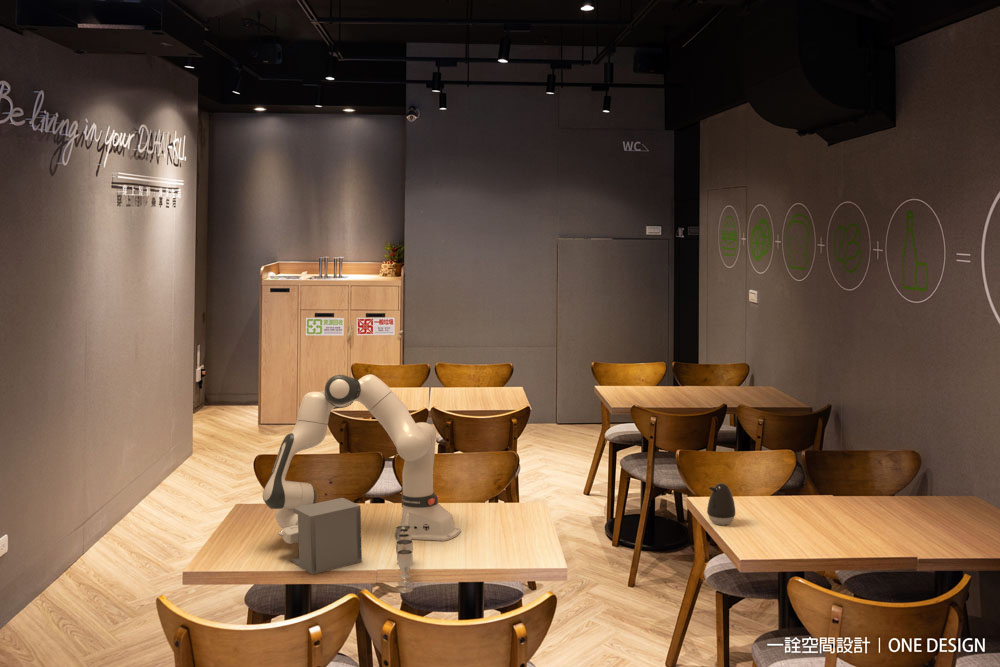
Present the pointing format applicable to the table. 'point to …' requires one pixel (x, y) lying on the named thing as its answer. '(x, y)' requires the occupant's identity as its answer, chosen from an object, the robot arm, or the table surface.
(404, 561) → the goblet set
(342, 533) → the overhang dock
